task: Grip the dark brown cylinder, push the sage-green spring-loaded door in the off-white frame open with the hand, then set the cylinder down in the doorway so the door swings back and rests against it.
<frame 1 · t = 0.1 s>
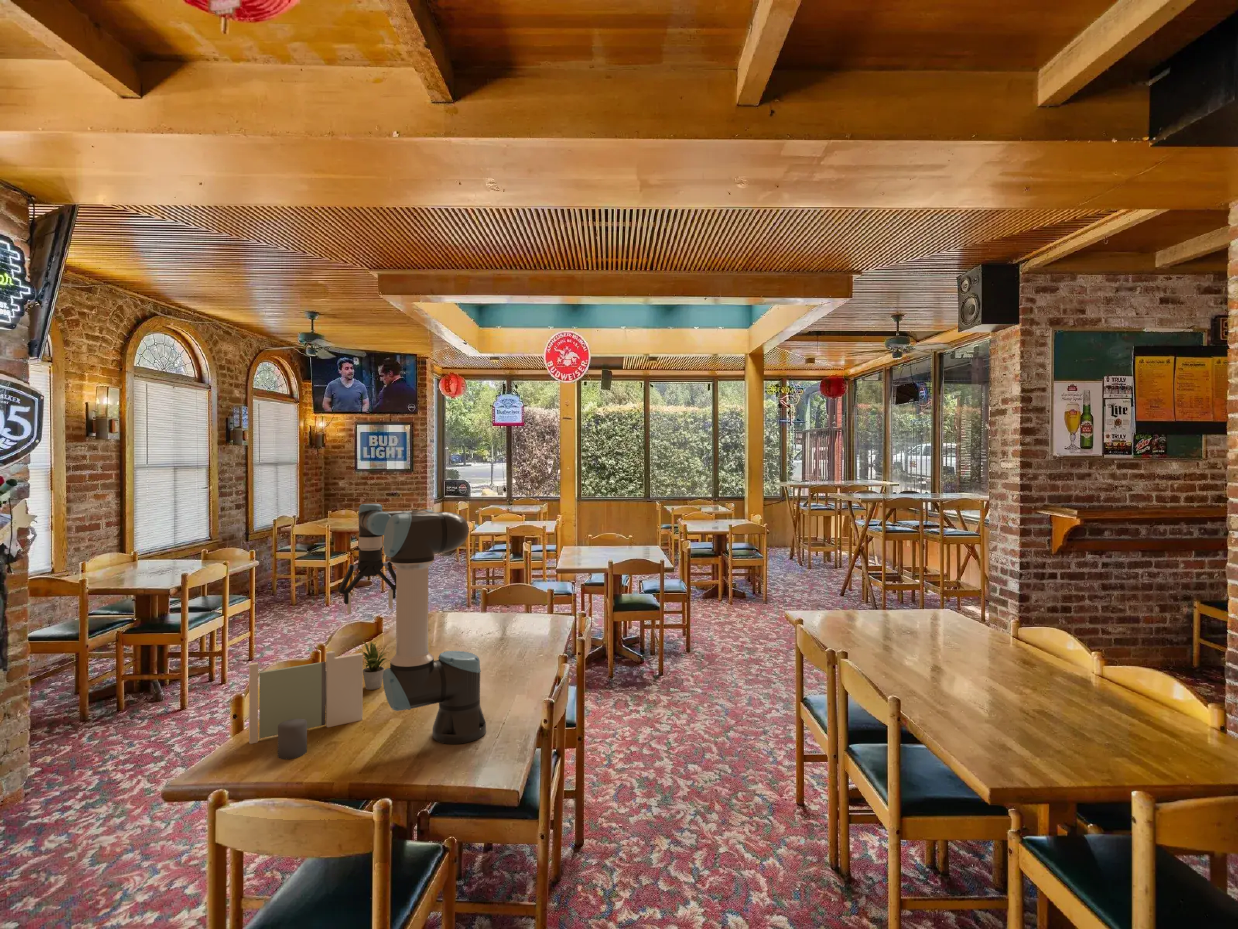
hand: (370, 611, 219), 28 cm above the table, tool pointing down, fingers open, 13 cm apart
dark brown cylinder: (292, 753, 173), on the table
house plant: (369, 687, 224), on the table
door frame: (292, 733, 185), on the table
door: (293, 699, 186), point 10 cm above the table, hinge at 0.0°
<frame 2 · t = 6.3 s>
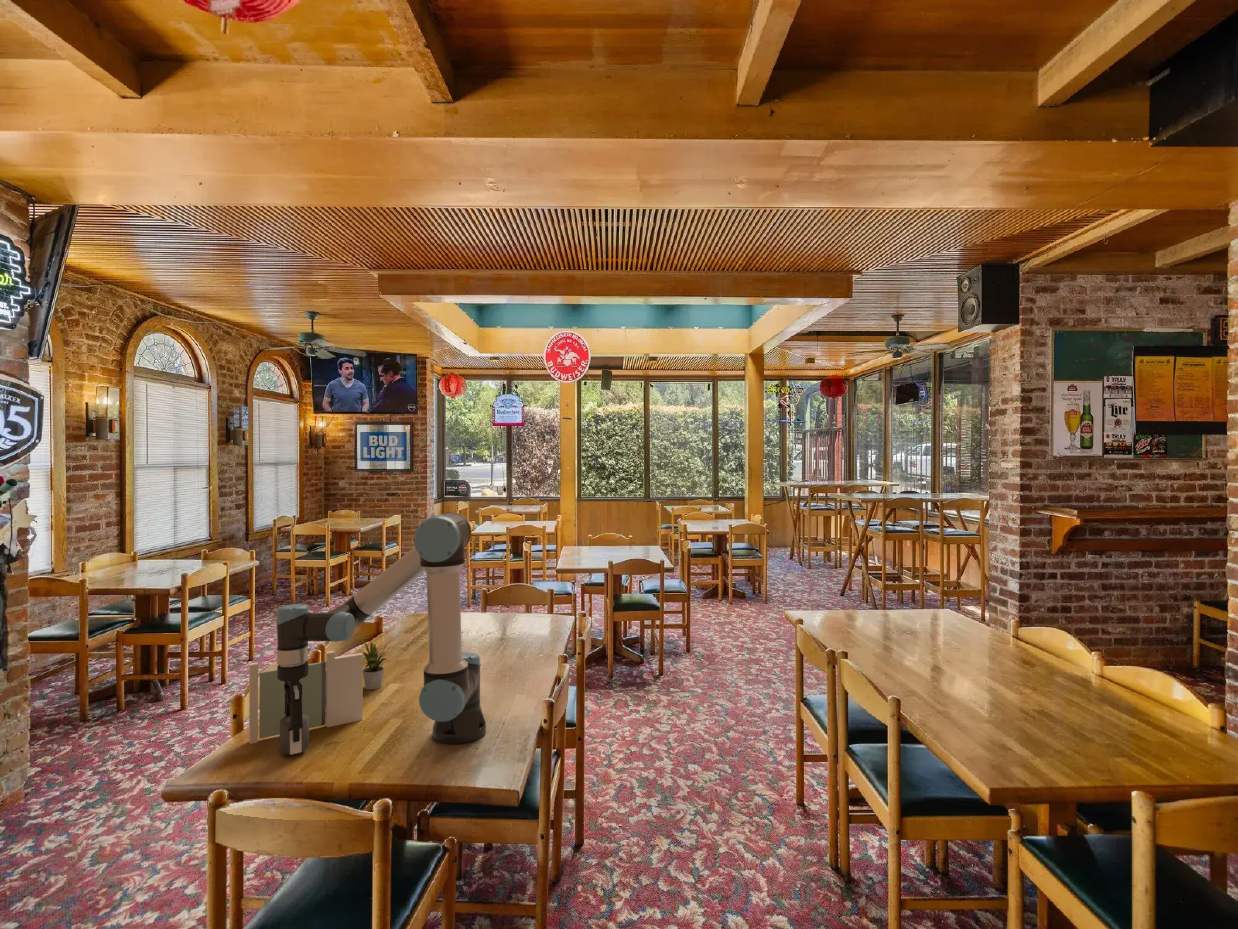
hand: (293, 747, 173), 2 cm above the table, tool pointing down, fingers closed on dark brown cylinder, 7 cm apart
dark brown cylinder: (294, 748, 173), point 1 cm above the table, touching gripper
everything else where it was.
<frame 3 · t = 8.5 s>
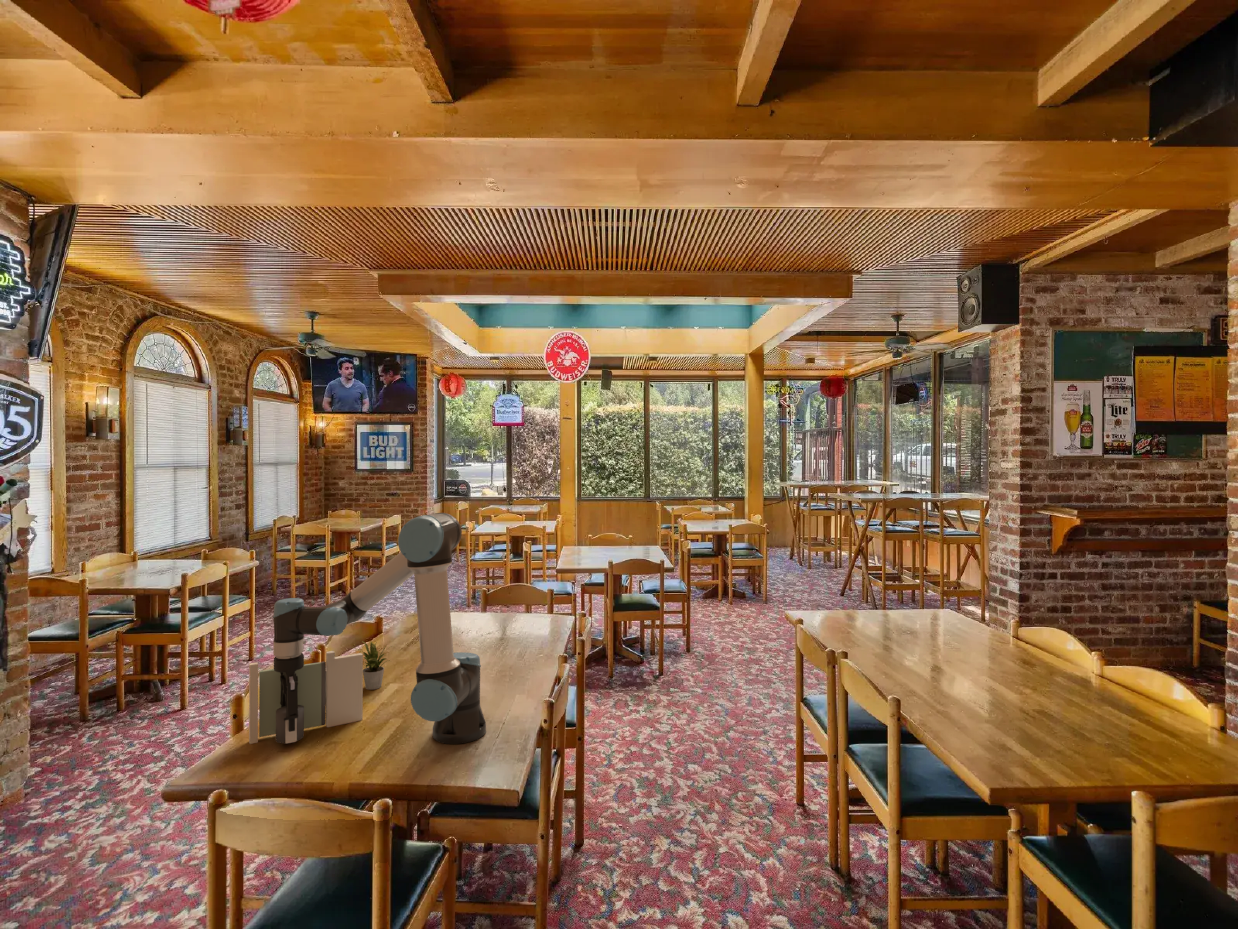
hand: (289, 737, 178), 2 cm above the table, tool pointing down, fingers closed on dark brown cylinder, 7 cm apart
dark brown cylinder: (289, 738, 179), point 2 cm above the table, touching gripper
door: (293, 698, 186), point 10 cm above the table, hinge at 4.0°, touching hand
everything else where it was.
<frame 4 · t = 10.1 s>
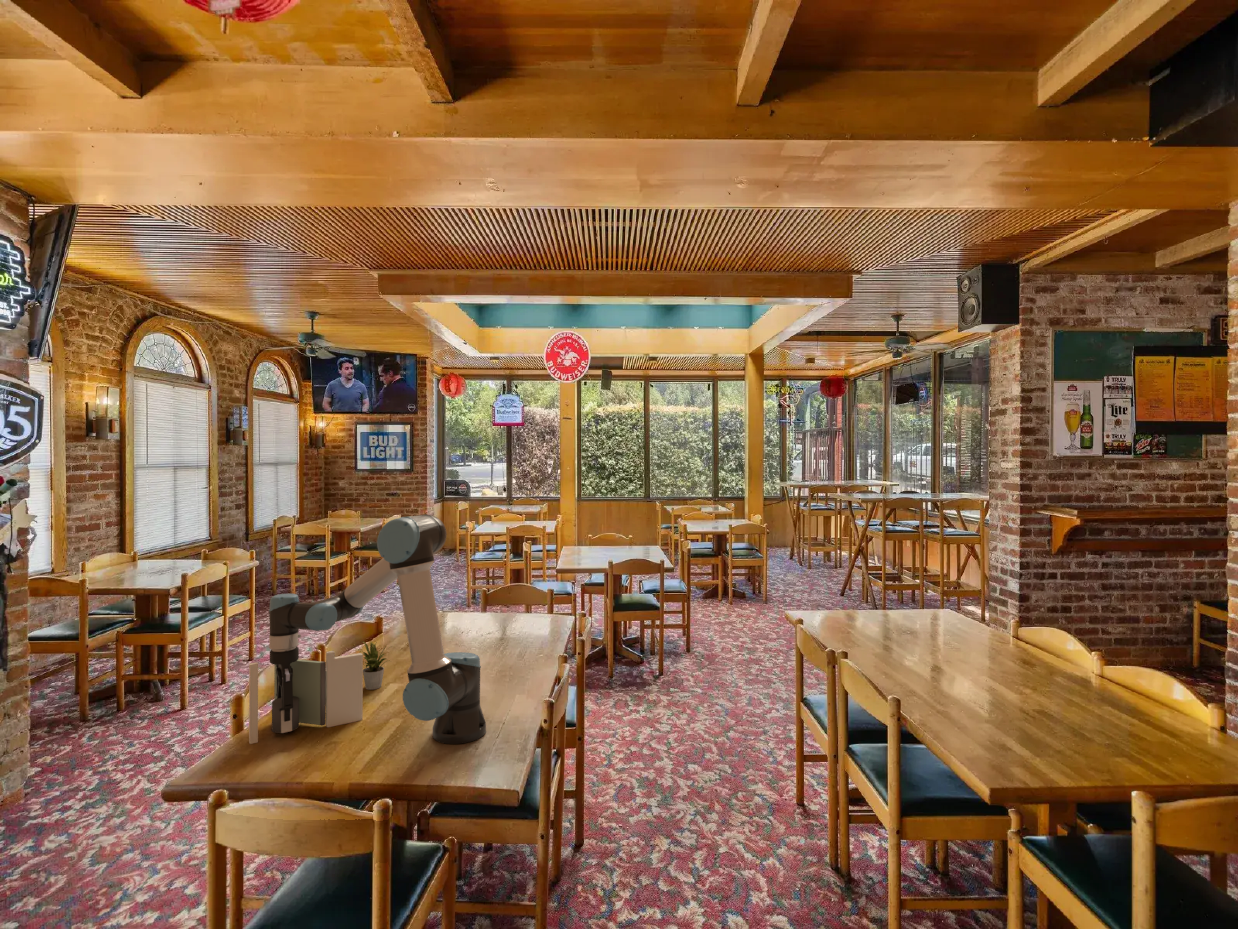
hand: (284, 727, 186), 2 cm above the table, tool pointing down, fingers closed on dark brown cylinder, 7 cm apart
dark brown cylinder: (285, 728, 186), point 1 cm above the table, touching gripper
door: (300, 691, 192), point 10 cm above the table, hinge at 48.0°, touching hand
everything else where it was.
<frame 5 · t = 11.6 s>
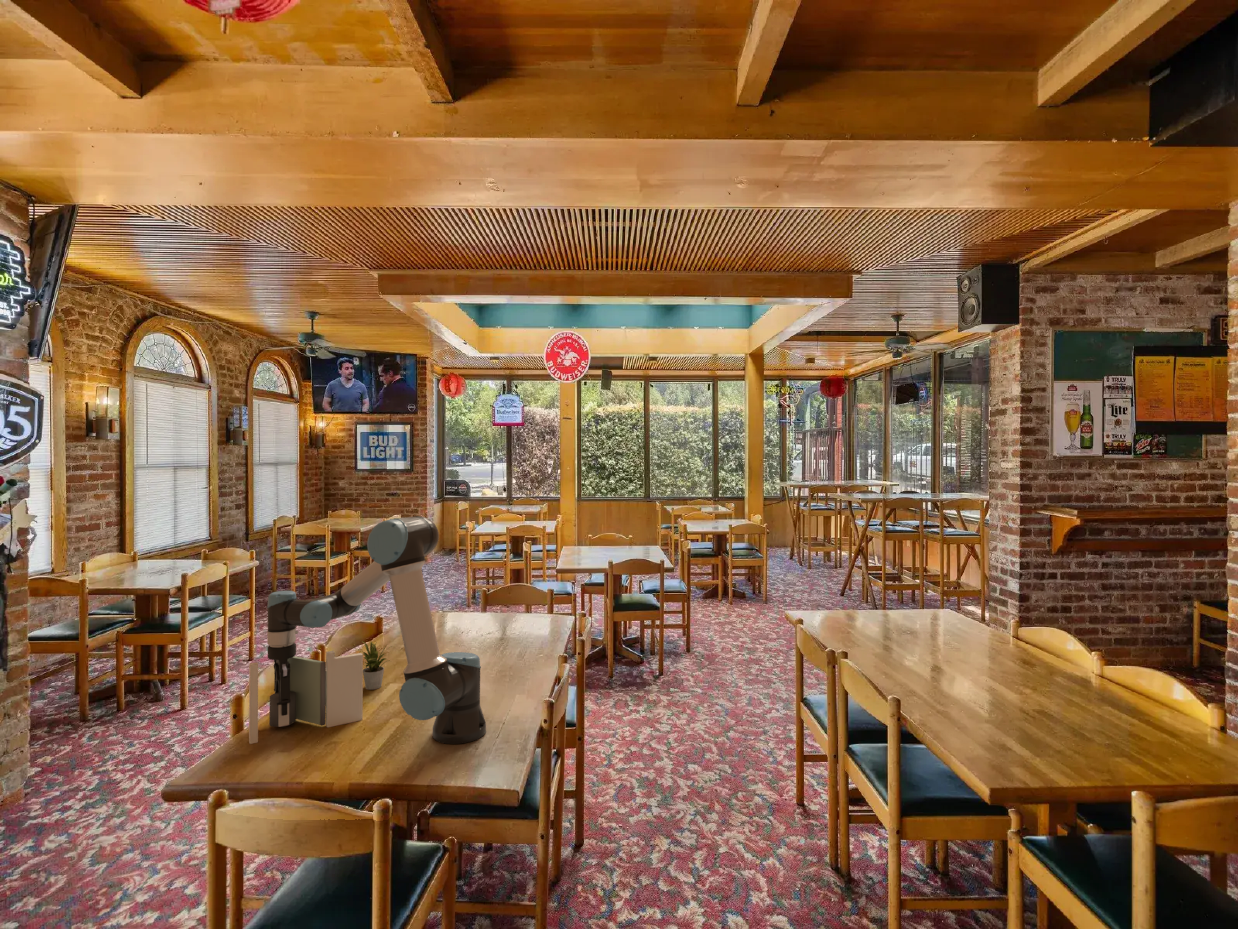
hand: (282, 721, 190), 2 cm above the table, tool pointing down, fingers closed on dark brown cylinder, 7 cm apart
dark brown cylinder: (282, 722, 190), point 1 cm above the table, touching gripper
door: (304, 689, 193), point 10 cm above the table, hinge at 59.7°, touching hand
everything else where it was.
when the fingers open (0 cm above the table, at t = 13.4 s): dark brown cylinder stays where it is, on the table.
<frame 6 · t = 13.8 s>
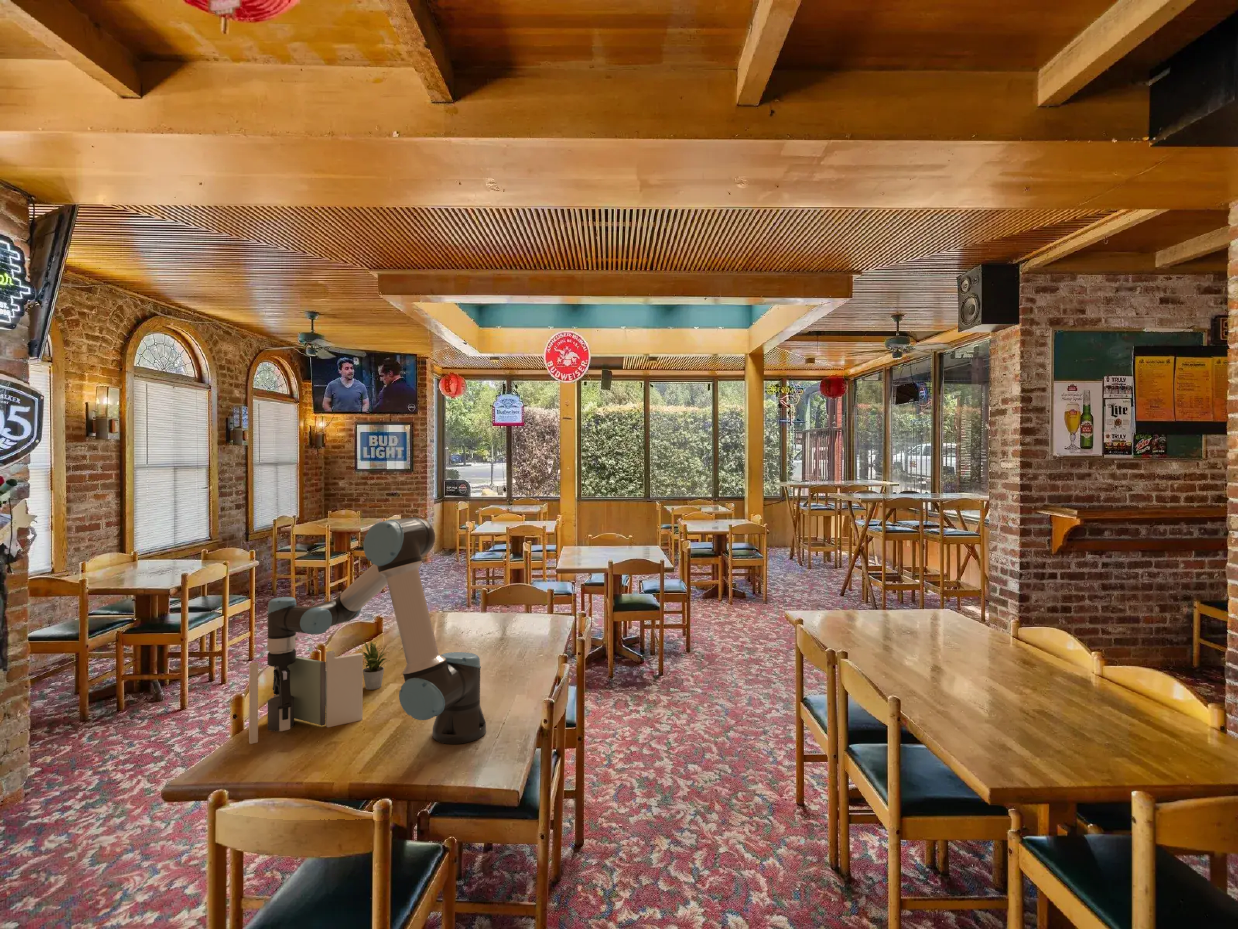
hand: (281, 722, 190), 1 cm above the table, tool pointing down, fingers open, 12 cm apart
dark brown cylinder: (280, 726, 191), on the table
door: (304, 689, 193), point 10 cm above the table, hinge at 60.4°, touching gripper
everything else where it was.
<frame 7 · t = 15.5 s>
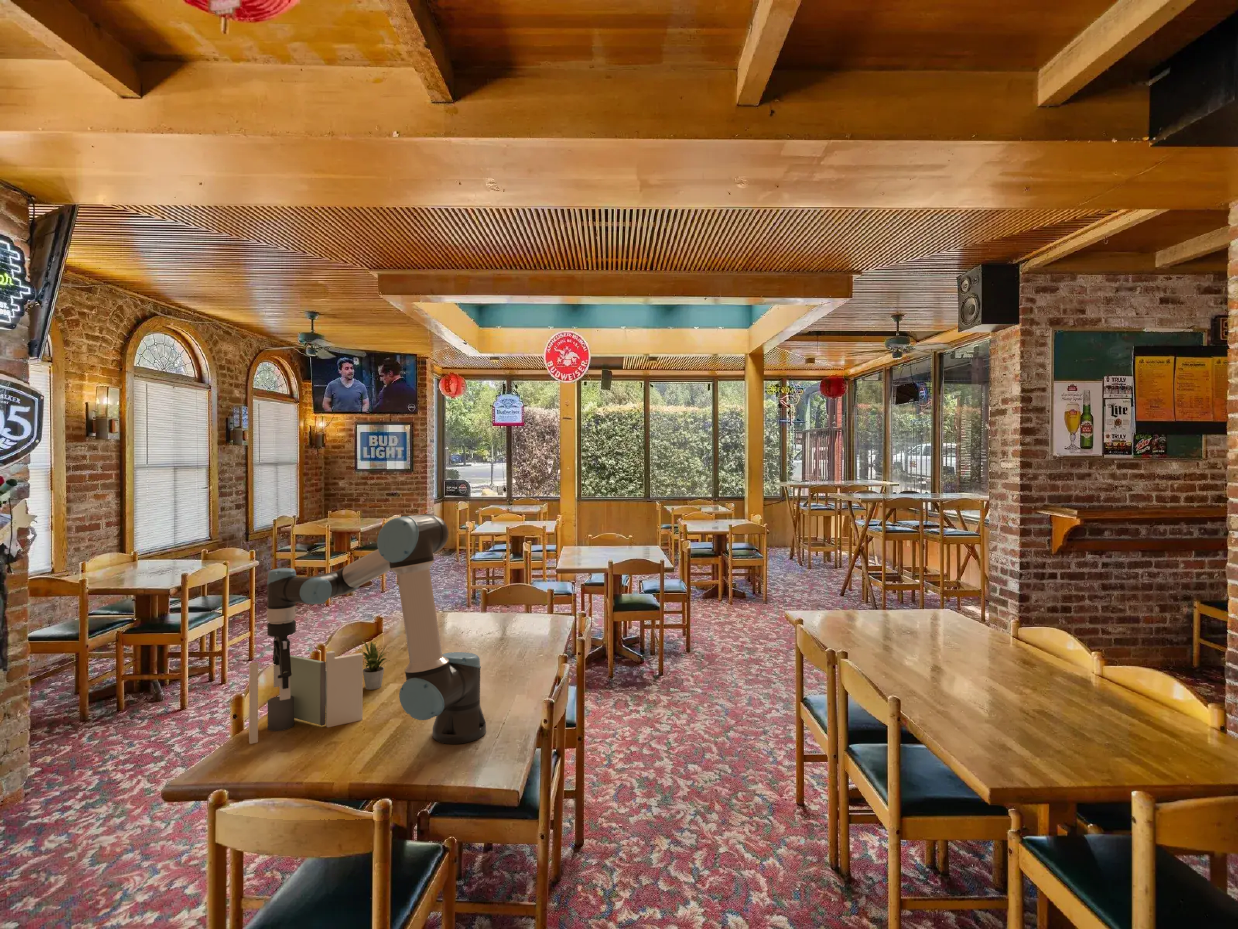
hand: (281, 692, 190), 10 cm above the table, tool pointing down, fingers open, 13 cm apart
door: (304, 689, 193), point 10 cm above the table, hinge at 60.7°, touching gripper
everything else where it was.
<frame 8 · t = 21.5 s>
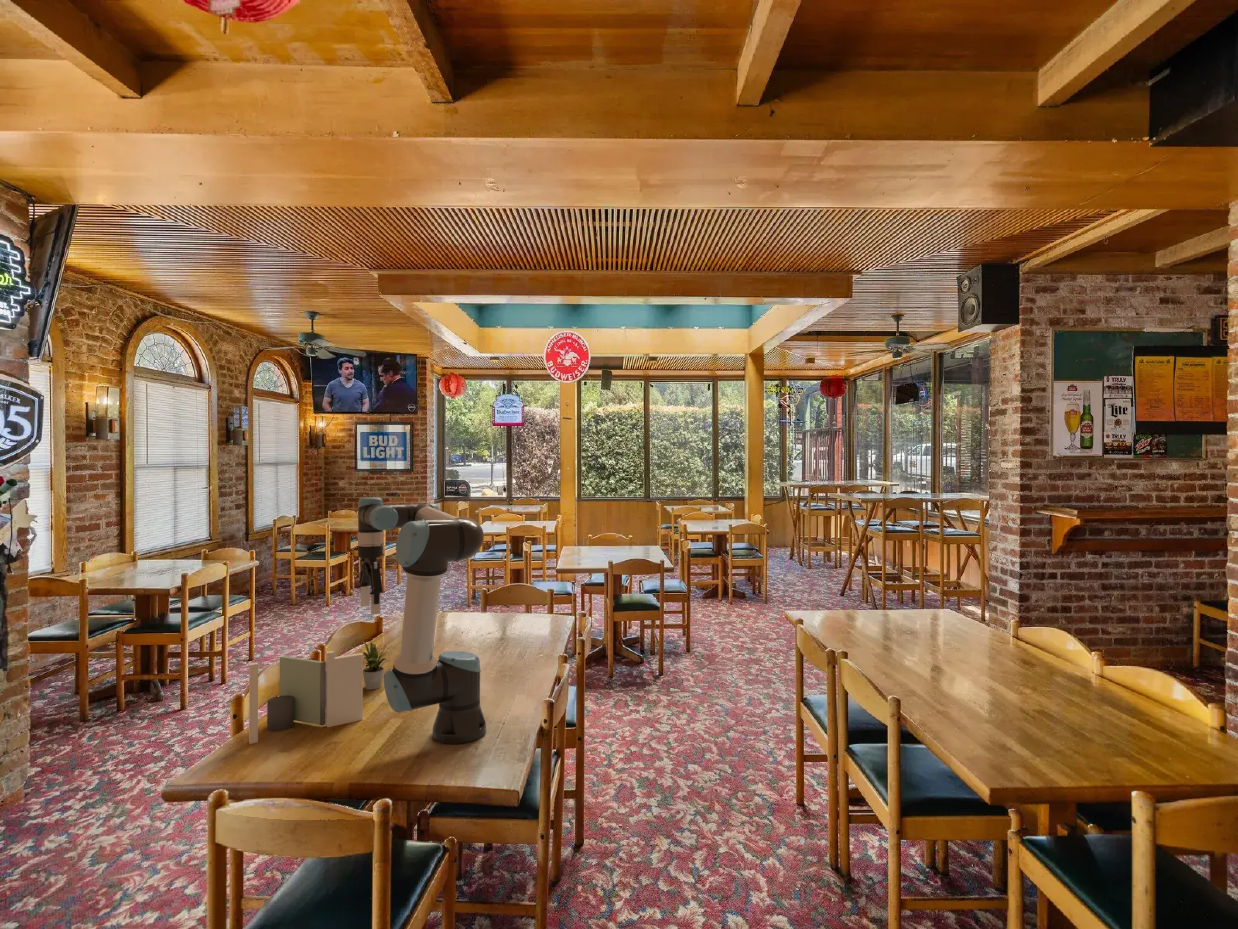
hand: (370, 610, 208), 31 cm above the table, tool pointing down, fingers open, 13 cm apart
dark brown cylinder: (280, 726, 190), on the table, touching door
door: (302, 690, 193), point 10 cm above the table, hinge at 55.0°, touching dark brown cylinder
everything else where it was.
at the end: door at +55° (first picture: +0°); dark brown cylinder touching door, table; dark brown cylinder tilted 0° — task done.
